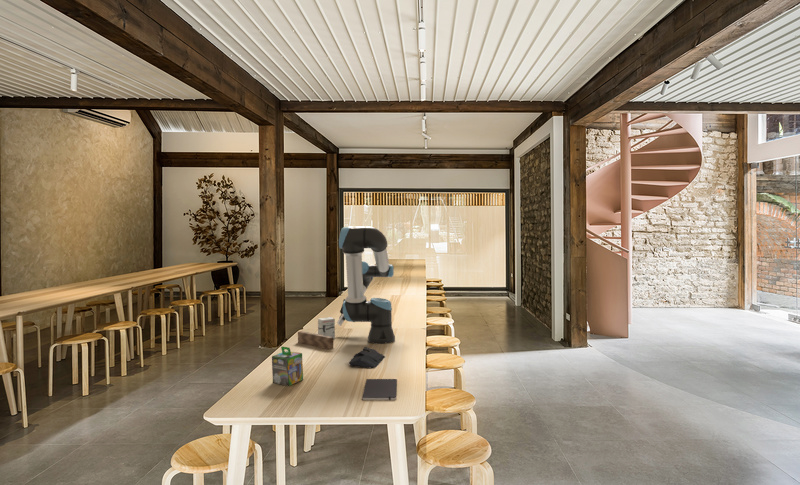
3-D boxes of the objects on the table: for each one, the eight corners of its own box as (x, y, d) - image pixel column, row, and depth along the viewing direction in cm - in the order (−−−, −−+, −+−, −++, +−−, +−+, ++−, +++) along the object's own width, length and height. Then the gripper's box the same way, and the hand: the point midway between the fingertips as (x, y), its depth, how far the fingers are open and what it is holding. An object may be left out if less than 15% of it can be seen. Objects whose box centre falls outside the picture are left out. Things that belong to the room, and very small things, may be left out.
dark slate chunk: (343, 368, 220) (343, 358, 220) (356, 355, 242) (356, 345, 242) (375, 370, 217) (375, 359, 217) (386, 356, 239) (386, 347, 239)
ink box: (321, 340, 270) (321, 319, 269) (317, 339, 274) (317, 318, 273) (335, 338, 274) (335, 318, 274) (331, 337, 279) (331, 316, 278)
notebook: (366, 382, 201) (362, 401, 180) (366, 378, 201) (362, 397, 180) (397, 382, 201) (396, 401, 179) (397, 378, 201) (396, 397, 179)
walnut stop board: (333, 348, 253) (333, 337, 253) (330, 349, 251) (329, 338, 251) (301, 341, 268) (301, 330, 268) (298, 342, 267) (297, 331, 266)
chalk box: (303, 380, 203) (303, 345, 202) (288, 386, 195) (287, 350, 194) (287, 376, 208) (286, 342, 207) (271, 383, 200) (270, 347, 199)
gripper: (368, 296, 293) (350, 329, 281) (353, 294, 301) (334, 326, 289) (362, 289, 289) (343, 322, 276) (347, 287, 297) (327, 319, 284)
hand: (339, 324), depth 283 cm, fingers closed
